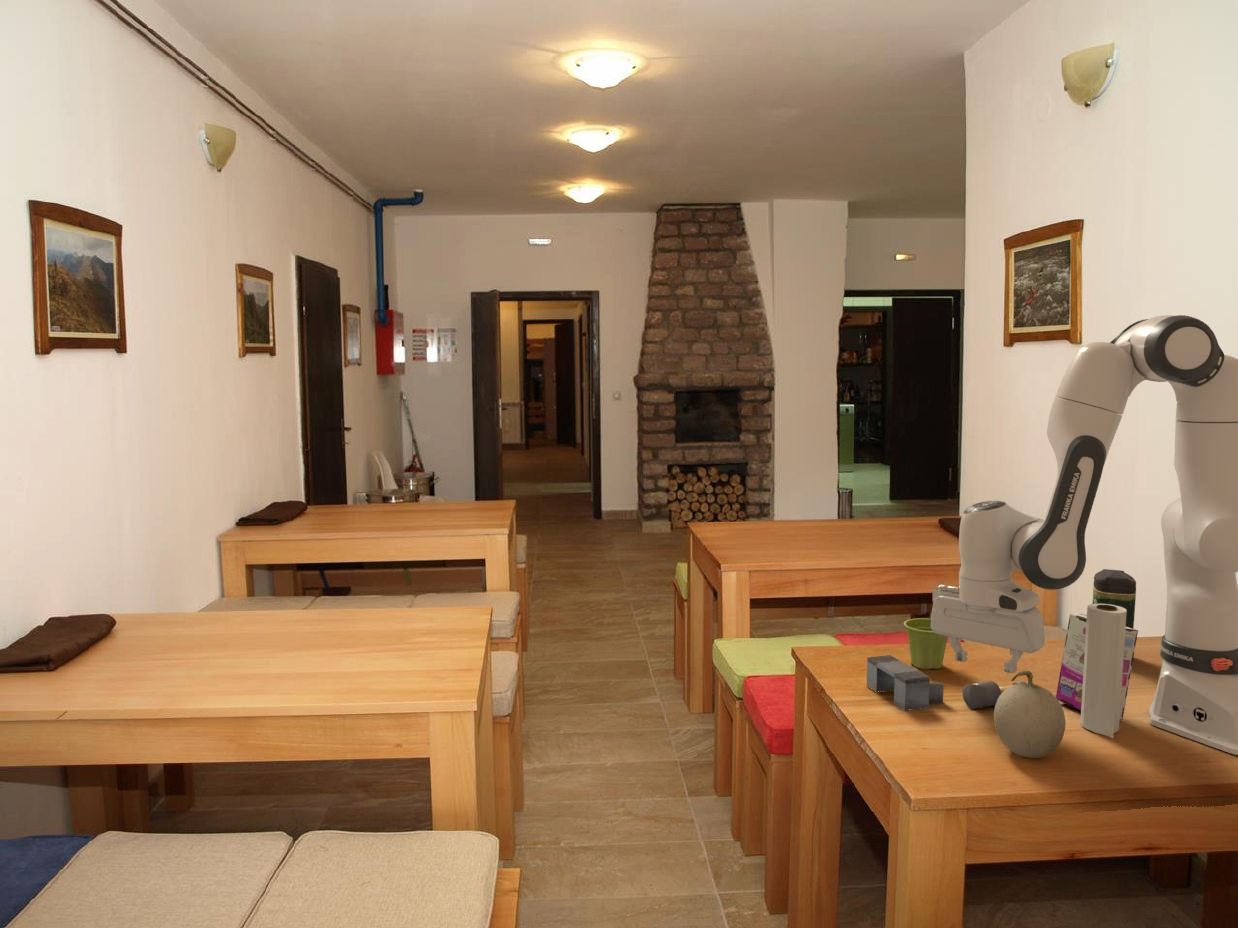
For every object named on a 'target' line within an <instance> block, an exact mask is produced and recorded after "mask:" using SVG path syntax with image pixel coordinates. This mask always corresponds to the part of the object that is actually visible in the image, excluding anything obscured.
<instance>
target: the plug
mask: <svg viewBox="0 0 1238 928" xmlns="http://www.w3.org/2000/svg"><path fill="white" fill-rule="evenodd" d="M1016 684H1028V682H1026V681H1024V680H1023V681H1016V682H1012V684H1010V685H1005V686H999V685H998V684H997V683H996V682H995V681H993V680H989V681H982V682H975V683H969V684H966V685H965V686H964V687H963V689H962V698H963V702H964V703H965V705H966V706H967V707H968V708H969V709H971V710H975V709H977V710H978V709H983V708H989V707H995V705H996V703H997V700H998V698H999V696H1000V695H1001V694H1002V693H1003V692H1004V691H1005V690H1006V689H1007V688H1009V687H1011V686H1013V685H1016Z"/></svg>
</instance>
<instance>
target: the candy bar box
mask: <svg viewBox="0 0 1238 928" xmlns="http://www.w3.org/2000/svg"><path fill="white" fill-rule="evenodd" d="M1068 619H1069V620H1068V624H1067V630H1066V634H1065V635H1066V637H1065V642H1064V643H1065V644H1064V647H1063V652H1062V653H1063V654H1062V659H1061V664H1060V665H1061V666H1060V672H1059V677H1058V684H1057V689H1056V695H1055V697H1056V698H1057V699H1058V701H1059V702H1060V703H1063V704H1066V705H1068V706H1070V707H1072V708H1075V709H1077V710H1079V711H1081V705H1082V688H1083V671H1084V654H1085V638H1086V621H1087V614H1082V613H1069V618H1068ZM1138 633H1139V630H1138V629H1135V628H1133V629H1132V628H1129V627H1126V628H1125V643H1124V659H1123V674H1122V690H1121V705H1120V721H1123V719H1124V716H1125V715H1124V714H1125V710H1126V709H1125V708H1126V701H1127V696H1128V690H1129V685H1130V679H1131V678H1130V677H1131V673H1132V667H1133V663H1134V657H1135V650H1136V644H1137V640H1138Z"/></svg>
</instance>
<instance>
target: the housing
mask: <svg viewBox="0 0 1238 928" xmlns="http://www.w3.org/2000/svg"><path fill="white" fill-rule="evenodd" d="M930 679H931V677H930V675H927V674H925V673H924V672H922V671H919V670H918V669H916V668H915V666H913V665H909V664H907V663H905V662H903V661H902V660H900V659H898V658H896V657H894V656H893V655H891V654H888V655H878V656H877V655H876V656H869V657H868V656H867V661H866V685H867V686H869V687H870V688H872V689H873V690H874V691H876V692H878V691H879V692H878V693H883V692H882V691H886V692H893V705H895V706H896V705H897V706H896V707H898V708H900V709H901V708H902V709H901V710H903V709H904V710H906V711H910V710H909V709H914V710H919V709H920V708H922V709H929V707H930V706H929V705H930V704H929V703H933V704H944V688H945V687H944V684H945V683H944V682H935V681H934V682H933V681H930ZM867 686H866V687H867ZM870 688H869V689H870ZM873 690H872V691H873ZM892 690H894V691H892ZM874 691H873V692H874ZM880 691H881V692H880ZM876 692H875V693H876ZM904 710H903V711H904Z"/></svg>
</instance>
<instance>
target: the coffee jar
mask: <svg viewBox="0 0 1238 928" xmlns="http://www.w3.org/2000/svg"><path fill="white" fill-rule="evenodd" d="M1092 587H1093V589H1092V603H1091V604H1110V605H1115V606H1120V607H1123V608H1125V609H1126V610H1127V612H1126V627H1129V628H1132V629H1135V628H1134V625H1135V613H1136V612H1135V611H1136V597H1137V582H1136V580H1135V578H1134V577H1133V576H1131V575H1130V574H1129V573H1127V572H1125V571H1124V570H1118V569H1109V568H1108V569H1107V568H1105V569H1104V568H1103V569H1102V570H1100V571H1098V572H1096V573H1095V574H1094V576H1093V586H1092Z"/></svg>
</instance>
